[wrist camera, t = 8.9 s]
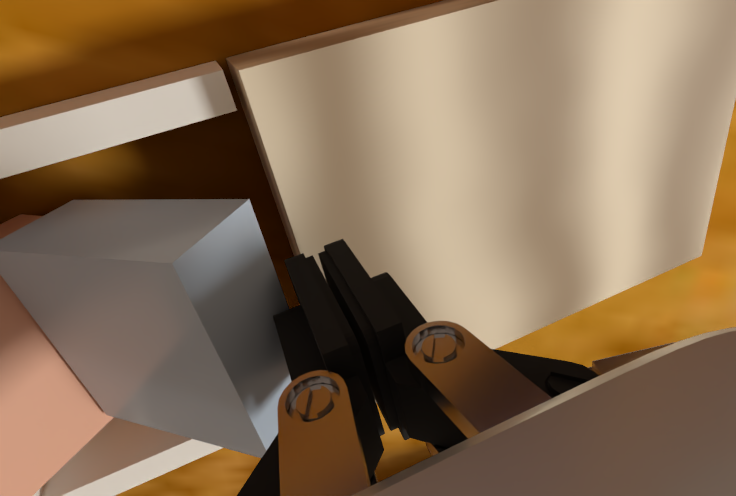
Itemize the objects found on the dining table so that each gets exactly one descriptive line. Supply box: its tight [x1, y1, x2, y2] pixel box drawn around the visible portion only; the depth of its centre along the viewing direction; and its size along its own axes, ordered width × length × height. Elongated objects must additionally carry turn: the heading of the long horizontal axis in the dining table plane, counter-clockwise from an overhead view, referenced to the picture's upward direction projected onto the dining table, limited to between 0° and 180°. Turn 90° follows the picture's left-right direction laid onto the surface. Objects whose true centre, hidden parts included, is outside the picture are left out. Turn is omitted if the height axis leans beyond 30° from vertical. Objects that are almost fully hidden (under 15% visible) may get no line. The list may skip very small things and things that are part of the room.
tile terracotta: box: [0, 214, 114, 496], centre depth 12 cm, size 6×6×2 cm
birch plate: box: [226, 0, 736, 403], centre depth 17 cm, size 16×12×4 cm
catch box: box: [0, 61, 237, 496], centre depth 14 cm, size 11×12×3 cm
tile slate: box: [0, 199, 292, 458], centre depth 12 cm, size 6×6×2 cm
